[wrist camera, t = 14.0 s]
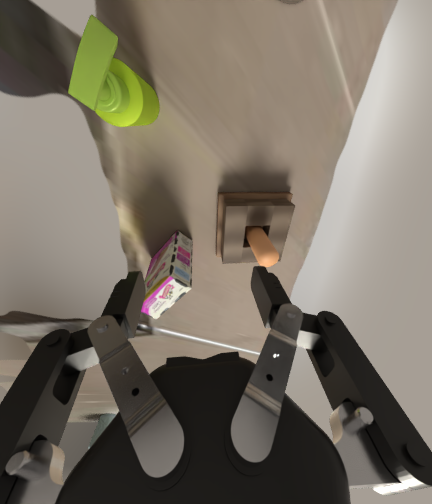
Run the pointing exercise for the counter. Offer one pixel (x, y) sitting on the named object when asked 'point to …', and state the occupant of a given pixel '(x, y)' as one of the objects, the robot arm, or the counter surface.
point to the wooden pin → (261, 246)
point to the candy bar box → (168, 275)
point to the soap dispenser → (110, 81)
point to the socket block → (251, 222)
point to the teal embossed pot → (101, 426)
